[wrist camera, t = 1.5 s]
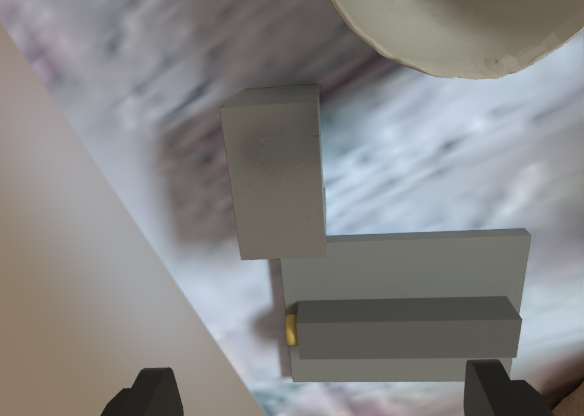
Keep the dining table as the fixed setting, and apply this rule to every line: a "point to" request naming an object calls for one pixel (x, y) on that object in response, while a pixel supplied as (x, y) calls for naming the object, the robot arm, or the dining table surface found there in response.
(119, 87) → the dining table surface
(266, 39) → the dining table surface
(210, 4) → the dining table surface
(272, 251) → the grey arch block
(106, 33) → the dining table surface
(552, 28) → the teacup
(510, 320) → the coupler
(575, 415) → the stone
